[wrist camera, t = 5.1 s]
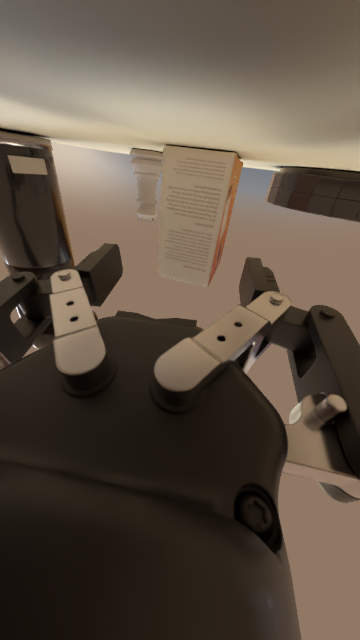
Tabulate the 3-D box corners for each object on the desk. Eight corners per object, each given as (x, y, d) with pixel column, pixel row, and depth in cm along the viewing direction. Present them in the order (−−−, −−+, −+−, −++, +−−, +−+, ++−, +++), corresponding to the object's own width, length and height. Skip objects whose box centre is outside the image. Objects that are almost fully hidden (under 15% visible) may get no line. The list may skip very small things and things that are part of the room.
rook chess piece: (162, 152, 24) (159, 225, 29) (166, 154, 28) (163, 218, 32) (124, 147, 24) (127, 221, 29) (134, 150, 28) (135, 215, 32)
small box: (244, 160, 20) (220, 262, 26) (189, 153, 21) (179, 254, 28) (237, 152, 14) (208, 289, 20) (161, 143, 15) (156, 276, 21)
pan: (268, 168, 30) (260, 195, 32) (290, 163, 17) (274, 209, 20) (388, 183, 28) (371, 211, 30) (513, 189, 15) (469, 238, 17)
